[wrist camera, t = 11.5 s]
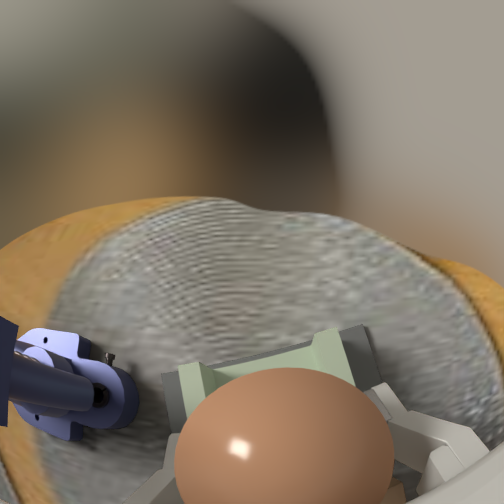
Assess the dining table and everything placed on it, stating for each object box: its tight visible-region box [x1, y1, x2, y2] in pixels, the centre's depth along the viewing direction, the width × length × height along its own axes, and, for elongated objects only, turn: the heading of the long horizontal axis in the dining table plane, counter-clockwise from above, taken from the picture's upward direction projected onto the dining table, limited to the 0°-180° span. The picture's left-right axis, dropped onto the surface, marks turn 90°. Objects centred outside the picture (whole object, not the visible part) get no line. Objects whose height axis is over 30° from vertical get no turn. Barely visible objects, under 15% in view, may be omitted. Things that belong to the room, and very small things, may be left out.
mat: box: [161, 324, 382, 434], centre depth 16 cm, size 14×9×1 cm, turn 103°
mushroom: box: [174, 367, 394, 504], centre depth 8 cm, size 4×4×9 cm
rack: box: [178, 327, 356, 420], centre depth 14 cm, size 10×8×4 cm
